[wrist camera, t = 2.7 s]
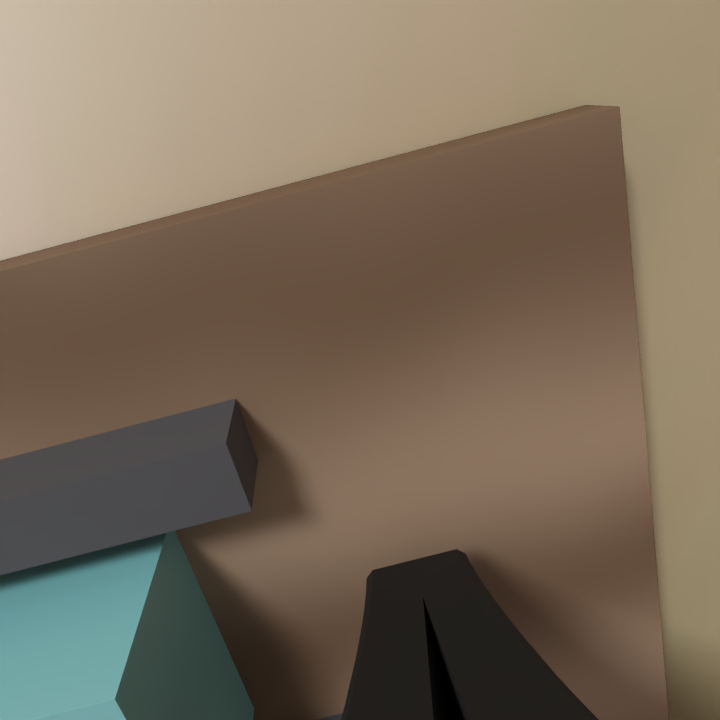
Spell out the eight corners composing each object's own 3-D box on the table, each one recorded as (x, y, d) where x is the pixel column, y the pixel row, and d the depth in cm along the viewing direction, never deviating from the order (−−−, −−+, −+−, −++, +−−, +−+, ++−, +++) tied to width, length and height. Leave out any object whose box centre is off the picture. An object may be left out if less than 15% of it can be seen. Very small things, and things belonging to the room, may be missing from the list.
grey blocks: (362, 749, 12) (369, 819, 10) (-14, 842, 12) (-47, 922, 11) (235, 398, 9) (225, 442, 8) (-258, 526, 9) (-339, 588, 8)
